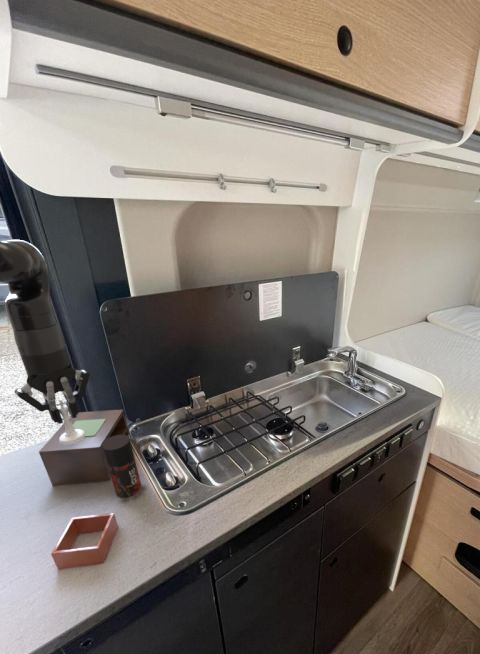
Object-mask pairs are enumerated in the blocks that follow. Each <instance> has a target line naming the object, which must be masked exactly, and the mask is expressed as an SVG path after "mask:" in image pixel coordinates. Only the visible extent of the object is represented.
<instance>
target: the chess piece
mask: <svg viewBox="0 0 480 654" xmlns="http://www.w3.org/2000/svg"><path fill="white" fill-rule="evenodd" d="M57 406H59V407H57ZM56 407H57V408H58V409H59V412H60V415H61V418H62V421H63V424H64V423H65V429H66V432H65V433H64V434H62V435H61V436H60V438H59V440H60V443H61V444H73V443H76V442H78V441H80V440H81V439H83V438H84V436H85V433H84V431H83V430H81V429H74V427H73V425H72V424H71V422H70V418H71V417H72V416H71V415H70V414H69V412H68V406H66V400H62V399H59V400H58V402H56Z"/></svg>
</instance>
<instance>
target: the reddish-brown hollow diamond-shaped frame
mask: <svg viewBox="0 0 480 654" xmlns="http://www.w3.org/2000/svg"><path fill="white" fill-rule="evenodd" d="M118 529H119V524H118V521H117V519H116V515H115V512H112V513H102V514H91V515H83V516H73V517H71V519H70V520H69V522H68V524H67V526H66V527H65V529H64V531H63V532H62V533H61V535H60V538H59V539H58V541H57V542H56V544H55V546H54V548H53V549H52V551H51V552H50V556H51V558H52V559H53V562H54V565H55V566H56V568H57V570H60V569H68V568H76V567H83V566H85V567H86V566H90V565H91V566H92V565H93V566H94V565H99V564H105V561H106V559H107V556H108V554H109V551H110V549H111V546H112V544H113V542H114V539H115V537H116V534H117V532H118ZM97 532H102V533H101V535H100V538H99V539H98V542H97V545H94V546H87V547H77V548H73V546H74V545H75V543H76V540H77V538H78V537H79V535H80V534H91V533H97Z"/></svg>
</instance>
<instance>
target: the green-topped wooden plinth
mask: <svg viewBox="0 0 480 654" xmlns="http://www.w3.org/2000/svg"><path fill="white" fill-rule="evenodd" d="M78 412H79V411H78ZM76 416H77V417H76V418H74V419H73V418H72V417H71V418H70V422H71V424H72V425H73V427H74V429H81V430H83V431H84V433H85V436H84V438H83V439H81V440H80V441H78V442H76V443H73V444H61V443H60V440H59V438H60V436H61V435H62V434H64V433H65V432H66V429H65V423H64V422H63V423H62V425H60V427H59V428H58V430H57V431H56V432H55V433H54V434H53V435H52V436H51V437H50V438H49V440H48V441H47V442H46V443H45V444H44V445H43V446H42V447H41V449H40V450H39V451H38V454H39V457H40V458H41V461H42V463H43V467H44V468H45V472H46V473H47V476H48V479H49V481H50V483H51V485H52V486H62V485H73V484H84V483H93V482H94V483H95V482H105V481H110V480H112V478H111V475H110V472H109V468H108V465H107V462H106V458H105V455H104V452H103V448H102V443H103V442H104V441H105V440H106V439H108V438H110V437H112V436H115V435H127V436H128V435H129V434H130V431H129V427H128V422H127V418H126V414H125V409H113V410H112V409H109V410H94V411H80V412H79V413H78V414H77V415H76Z"/></svg>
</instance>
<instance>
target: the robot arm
mask: <svg viewBox="0 0 480 654" xmlns="http://www.w3.org/2000/svg"><path fill="white" fill-rule="evenodd" d="M46 263H47V262H46V260H45V258H44V256H43V255H42V253H41V252H40V250H39V249H38V248H37V247H36V246H35V245H33V244H31V243H29V242H28V241H25V240H20V239H11V240H9V239H8V240H2V241H1V240H0V283H1V284H7V285H8V286H7V287H8V291H9V292H8V293H9V294H8V296H7V297H6V299H5V301H4V308H5V312H6V315H7V318H8V321H9V323H10V326H11V329H12V333H13V338H14V342H15V345H16V348H17V351H18V353H19V356H20V359H21V361H22V364H23V367H24V369H25V372H26V375H27V378H26V384H24V385H23V386H22V387H20V388H16V389H15V390H14V394H15V395H16V396H17V397H18V398H19V399H21V400H22V401H24V402H26V403H27V404H28V405H30V406H32V407H33V408H35V409H36V410H38V411H39V412H45V411H48V413H49V417H50V419H51V420H52V421H53V422H54V423H55V424H56V423H57V424H59V425H61V424H64V420H62V418H61V416H62V415H61V414H60V412H59V409H58V408H59V407H57V405H56V403H57V402H56V400H57V397H56V394H57V393H59V392H61V393H62V395H63V398H64V399H65V401H66V404H65V406H68V414H70V415H71V416H72V418H73V419H74V418H76V417H77V416H76V415H77V414H78V413H79V408H78V406H77V400H79V399H82V398H83V397H85V392H86V389H87V385H88V383H89V380H90V376H91V375H90V374H91V373H90V372H88V371H87V370H85V369H80V370H78V369H76V368H75V367H73V366H72V362H71V359H70V356H69V353H68V352H69V351H68V348H67V345H66V340H65V338H64V335H63V333H62V330H61V328H60V326H59V324H58V320H57V317H56V315H55V311H54V307H53V305H52V302H51V287H50V279H49V271H48V266H47V264H46ZM74 379H76V381H75V385H74V388H73V389H72V387H71V385H72V383H73V380H74ZM32 389H34V390H36V391H38V392H39V393H40V394H41V393H42V397H43V399H44V402H40V401H39V400H38V399H36V398H35V397H34V396H33V394H34V393H33V391H32Z"/></svg>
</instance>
